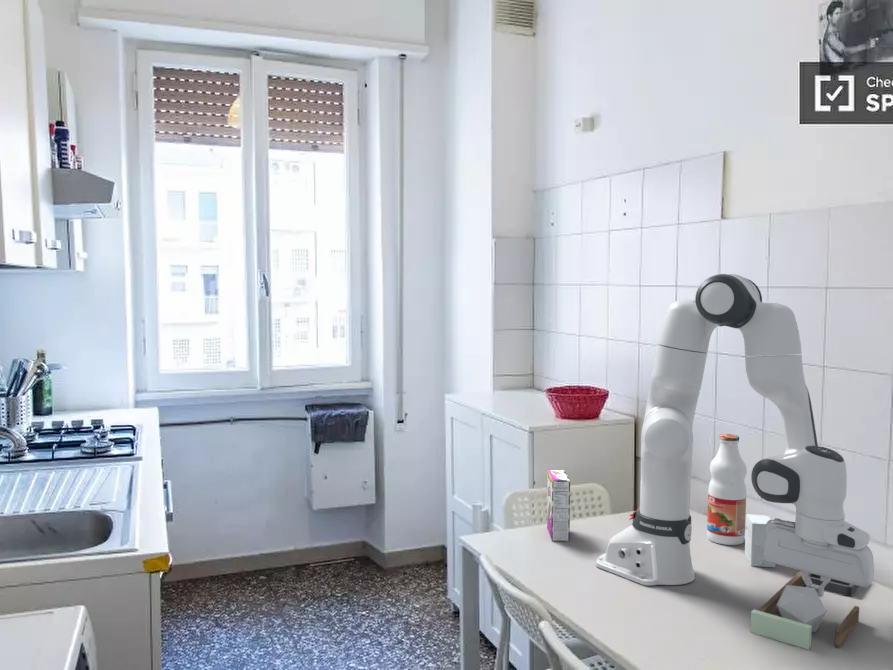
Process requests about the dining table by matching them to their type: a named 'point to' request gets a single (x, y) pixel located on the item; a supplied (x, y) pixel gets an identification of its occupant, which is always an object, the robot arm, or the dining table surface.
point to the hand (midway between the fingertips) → (814, 594)
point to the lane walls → (841, 631)
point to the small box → (756, 540)
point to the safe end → (781, 629)
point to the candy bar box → (558, 505)
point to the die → (801, 606)
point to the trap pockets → (835, 585)
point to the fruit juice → (727, 494)
